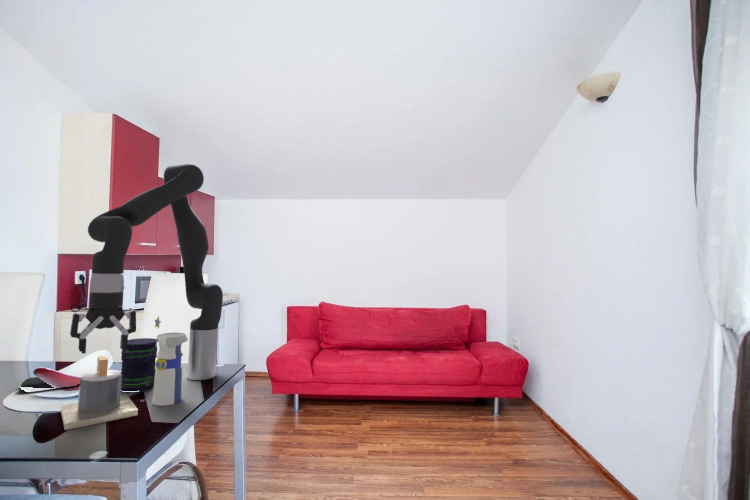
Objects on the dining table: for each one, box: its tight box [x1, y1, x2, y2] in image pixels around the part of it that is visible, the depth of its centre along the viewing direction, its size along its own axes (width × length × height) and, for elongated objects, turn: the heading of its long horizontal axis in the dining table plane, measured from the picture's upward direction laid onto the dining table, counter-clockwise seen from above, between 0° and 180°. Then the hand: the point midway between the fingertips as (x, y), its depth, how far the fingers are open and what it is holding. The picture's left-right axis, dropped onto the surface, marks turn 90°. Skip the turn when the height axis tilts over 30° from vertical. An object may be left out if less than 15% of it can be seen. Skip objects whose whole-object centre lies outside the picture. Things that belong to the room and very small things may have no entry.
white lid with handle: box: [81, 355, 121, 382], centre depth 101 cm, size 8×8×8 cm
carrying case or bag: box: [19, 376, 54, 394], centre depth 121 cm, size 11×3×15 cm
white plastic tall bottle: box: [151, 316, 189, 406], centre depth 112 cm, size 8×9×25 cm
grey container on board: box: [60, 374, 139, 431], centre depth 101 cm, size 15×15×10 cm
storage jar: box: [120, 337, 158, 393], centre depth 122 cm, size 10×10×15 cm
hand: (103, 350), depth 102 cm, fingers open, 8 cm apart
